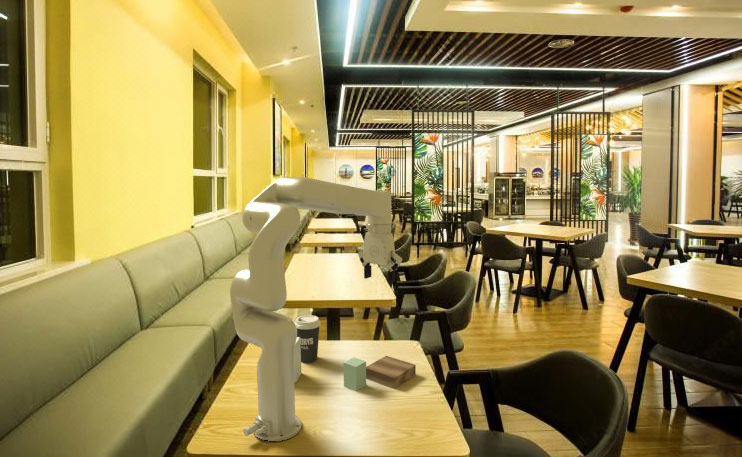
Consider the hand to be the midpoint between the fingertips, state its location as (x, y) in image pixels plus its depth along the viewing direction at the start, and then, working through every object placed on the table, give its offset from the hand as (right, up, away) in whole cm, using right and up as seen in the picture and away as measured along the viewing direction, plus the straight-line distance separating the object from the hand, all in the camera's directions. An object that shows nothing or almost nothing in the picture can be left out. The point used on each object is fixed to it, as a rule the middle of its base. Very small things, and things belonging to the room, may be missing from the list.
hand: (379, 280), depth 157 cm
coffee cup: (-25, -30, +13) cm, 41 cm away
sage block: (-8, -33, -7) cm, 34 cm away
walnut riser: (+3, -32, 0) cm, 32 cm away
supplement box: (-30, -32, -1) cm, 44 cm away
